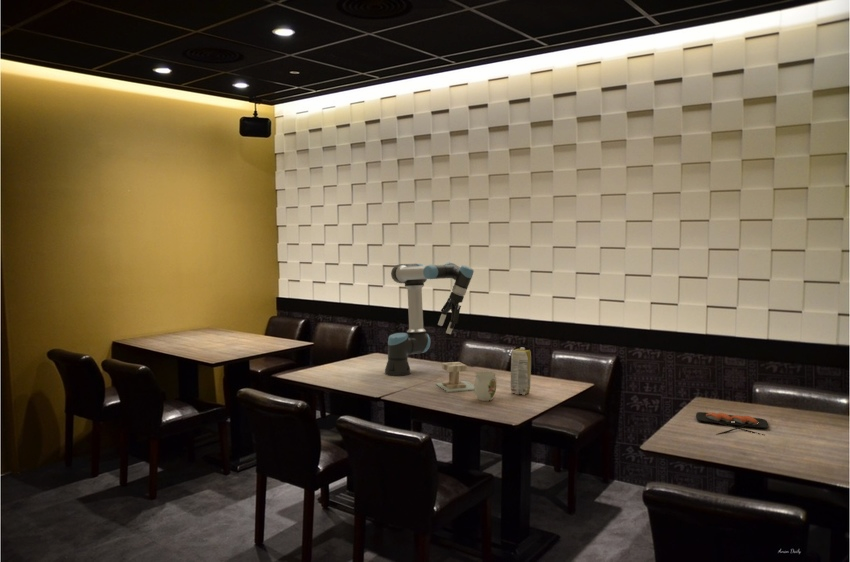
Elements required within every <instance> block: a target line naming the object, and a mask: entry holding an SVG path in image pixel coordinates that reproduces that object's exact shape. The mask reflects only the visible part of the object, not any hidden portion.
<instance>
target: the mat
mask: <svg viewBox="0 0 850 562" xmlns="http://www.w3.org/2000/svg"><path fill="white" fill-rule="evenodd" d="M459 381H460V380H459ZM460 382H462V383H464V384H466V388H454V389H448V388H447V387H445V386H443V385H442V382H437V383H436V382H435V385H436V386H437V385H438V386H437V387H439V388H440V387H441V390H443V389H444V391H445V390H446V391H445V392H447V393H454V392H453V391H459V392H469V391H468V390H472V391H475V389H474V384H472V383H471V382H469V381H467V380H464V381H460Z"/></svg>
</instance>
